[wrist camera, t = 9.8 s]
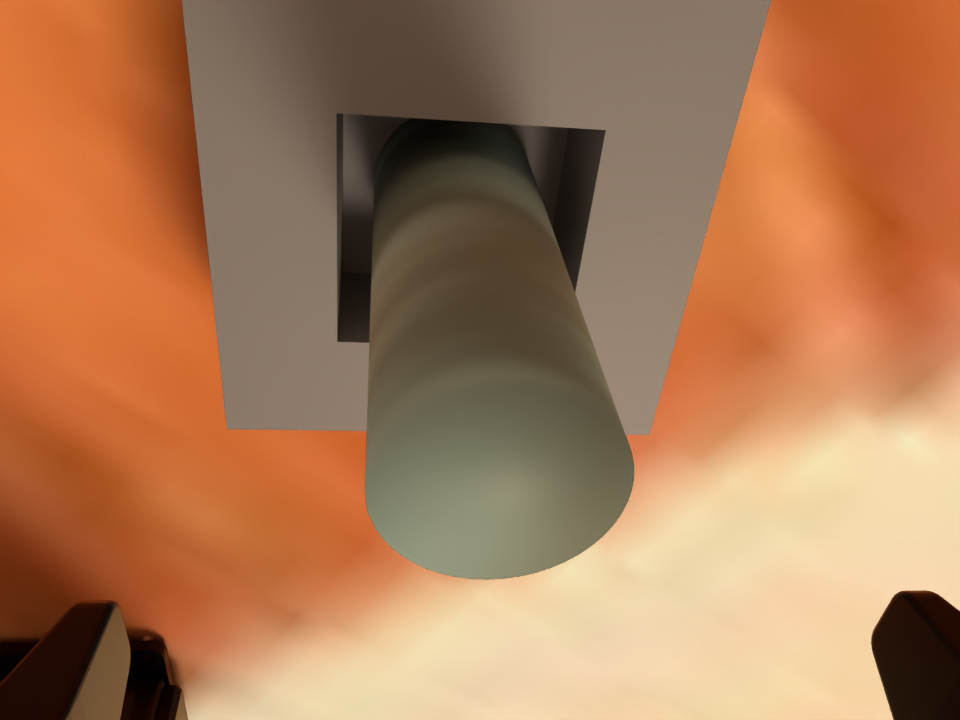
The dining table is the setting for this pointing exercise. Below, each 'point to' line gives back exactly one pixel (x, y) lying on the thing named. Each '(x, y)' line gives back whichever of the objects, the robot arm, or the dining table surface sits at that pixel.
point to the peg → (481, 366)
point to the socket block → (458, 97)
